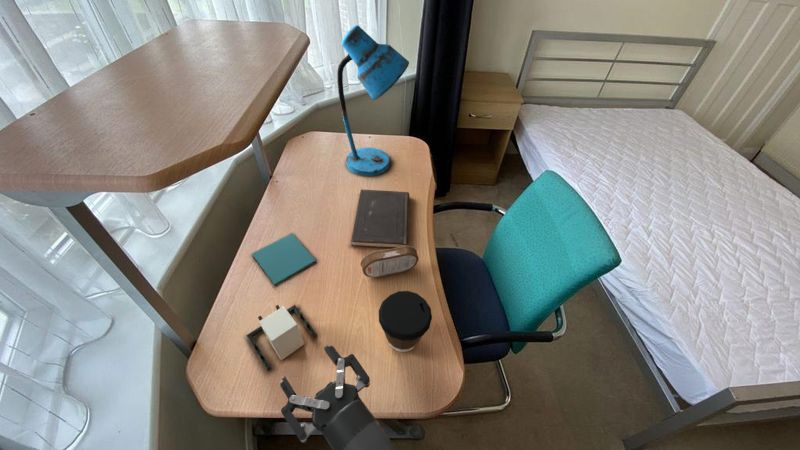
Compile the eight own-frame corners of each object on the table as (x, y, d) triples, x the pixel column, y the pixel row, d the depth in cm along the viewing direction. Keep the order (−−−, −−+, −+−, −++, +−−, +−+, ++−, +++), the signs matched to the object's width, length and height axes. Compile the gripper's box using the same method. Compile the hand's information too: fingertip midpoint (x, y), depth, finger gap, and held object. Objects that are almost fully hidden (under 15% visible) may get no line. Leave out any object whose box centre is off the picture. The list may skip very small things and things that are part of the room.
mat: (274, 285, 82) (274, 284, 81) (252, 255, 88) (251, 253, 88) (316, 261, 88) (316, 260, 87) (292, 234, 94) (291, 233, 94)
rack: (267, 371, 67) (260, 359, 63) (247, 337, 72) (239, 324, 68) (317, 336, 73) (313, 323, 69) (295, 306, 78) (290, 292, 74)
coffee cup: (417, 312, 78) (422, 283, 70) (433, 356, 71) (440, 329, 62) (373, 322, 76) (372, 294, 67) (384, 369, 68) (385, 343, 60)
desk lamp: (400, 179, 115) (409, 38, 84) (339, 173, 116) (325, 32, 84) (404, 154, 127) (412, 22, 95) (348, 149, 127) (338, 16, 96)
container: (281, 360, 69) (271, 341, 62) (269, 341, 72) (258, 321, 65) (304, 344, 71) (297, 324, 65) (292, 326, 74) (283, 305, 68)
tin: (414, 262, 89) (417, 241, 83) (418, 271, 87) (421, 250, 81) (360, 273, 86) (359, 252, 80) (363, 282, 84) (362, 262, 78)
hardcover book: (351, 246, 92) (350, 241, 90) (361, 194, 108) (360, 189, 107) (407, 249, 92) (408, 244, 91) (408, 197, 108) (409, 191, 107)
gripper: (323, 483, 49) (273, 397, 58) (393, 415, 56) (340, 346, 65) (316, 476, 44) (262, 381, 52) (395, 401, 51) (336, 328, 59)
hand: (305, 362), depth 59 cm, fingers open, 8 cm apart
